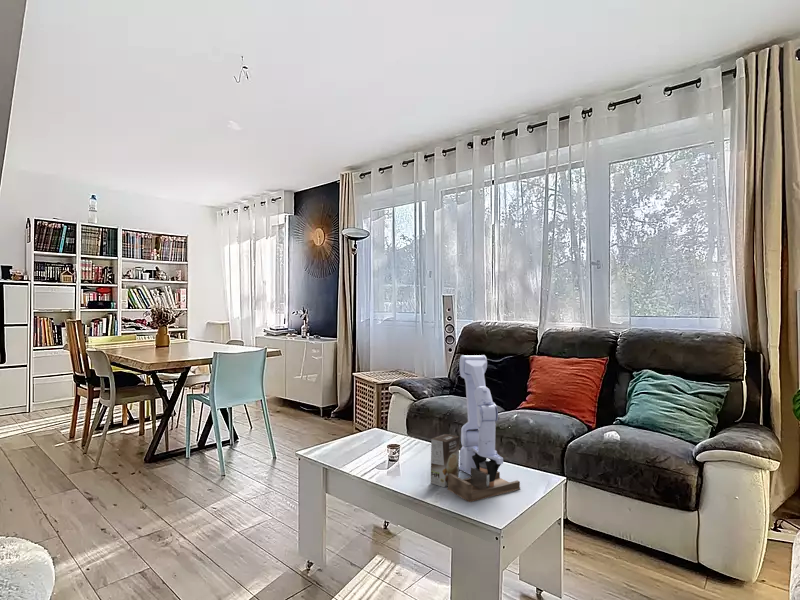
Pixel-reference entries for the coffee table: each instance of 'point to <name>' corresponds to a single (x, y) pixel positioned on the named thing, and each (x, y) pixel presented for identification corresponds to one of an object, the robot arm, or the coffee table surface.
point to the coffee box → (444, 458)
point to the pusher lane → (472, 493)
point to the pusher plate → (479, 478)
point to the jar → (484, 469)
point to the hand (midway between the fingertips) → (486, 478)
